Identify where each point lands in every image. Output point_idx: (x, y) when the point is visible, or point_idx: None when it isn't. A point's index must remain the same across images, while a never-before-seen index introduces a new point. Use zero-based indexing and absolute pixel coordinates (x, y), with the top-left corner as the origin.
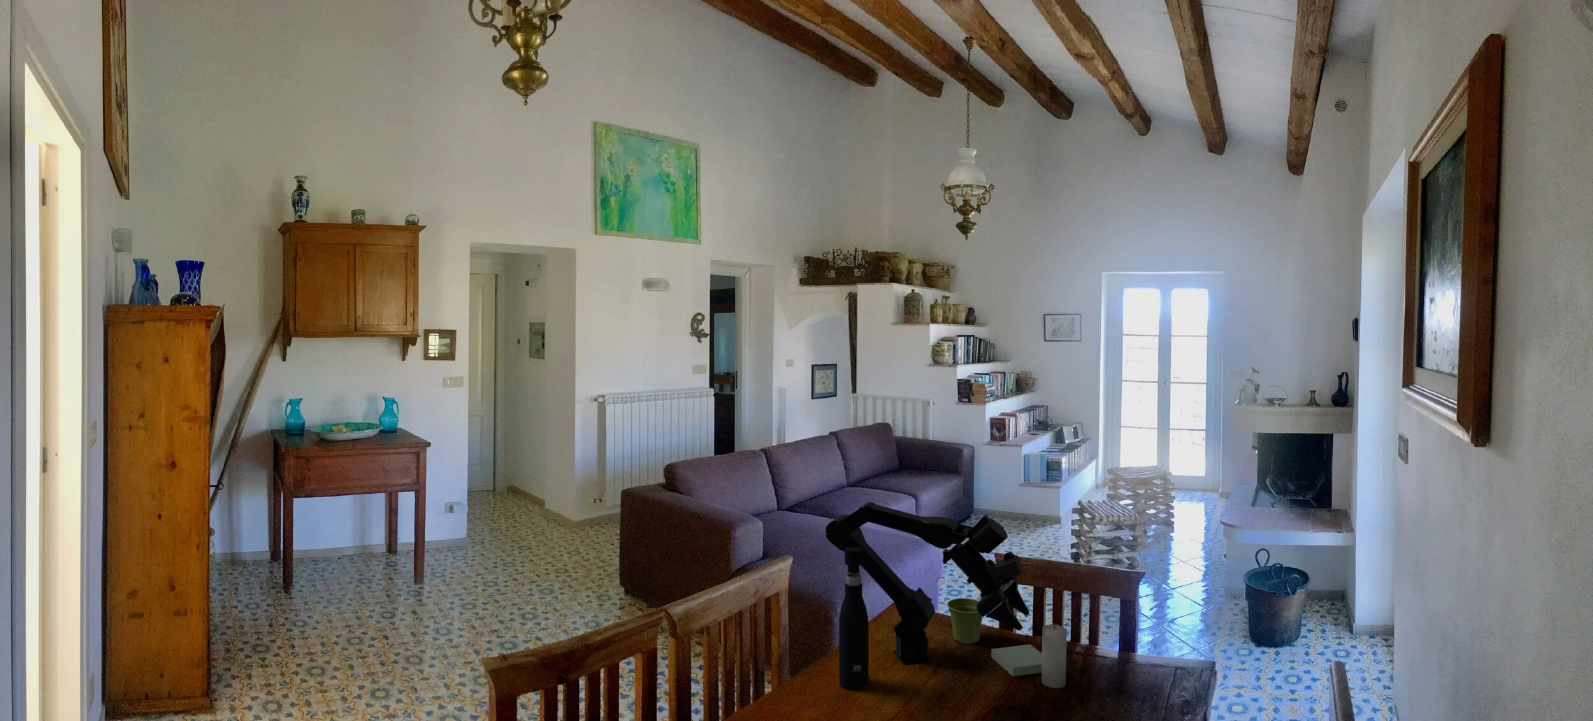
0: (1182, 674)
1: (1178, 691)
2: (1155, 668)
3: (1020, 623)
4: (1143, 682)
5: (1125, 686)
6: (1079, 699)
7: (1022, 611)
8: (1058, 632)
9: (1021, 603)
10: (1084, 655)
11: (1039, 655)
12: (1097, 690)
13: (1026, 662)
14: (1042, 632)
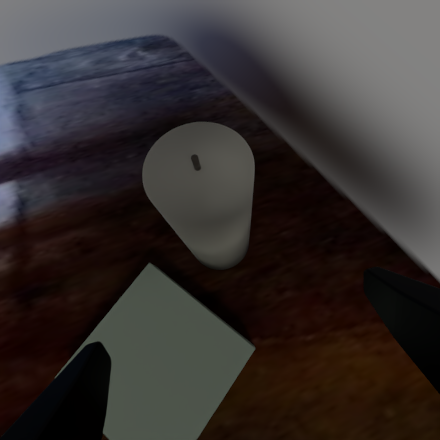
0: (45, 77)
1: (119, 63)
2: (39, 113)
3: (386, 280)
4: (112, 109)
5: (148, 126)
6: (262, 168)
7: (103, 394)
8: (226, 140)
9: (57, 431)
10: (30, 240)
11: (124, 315)
12: None
13: (194, 327)
14: (227, 220)
